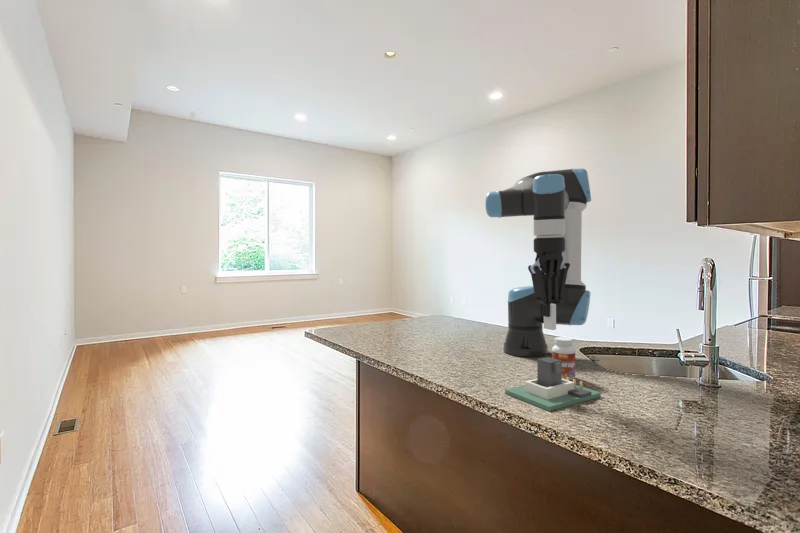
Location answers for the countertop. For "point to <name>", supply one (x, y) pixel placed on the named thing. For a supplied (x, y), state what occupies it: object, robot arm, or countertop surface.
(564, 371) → the pill bottle
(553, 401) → the header board
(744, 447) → the countertop surface
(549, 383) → the plug
